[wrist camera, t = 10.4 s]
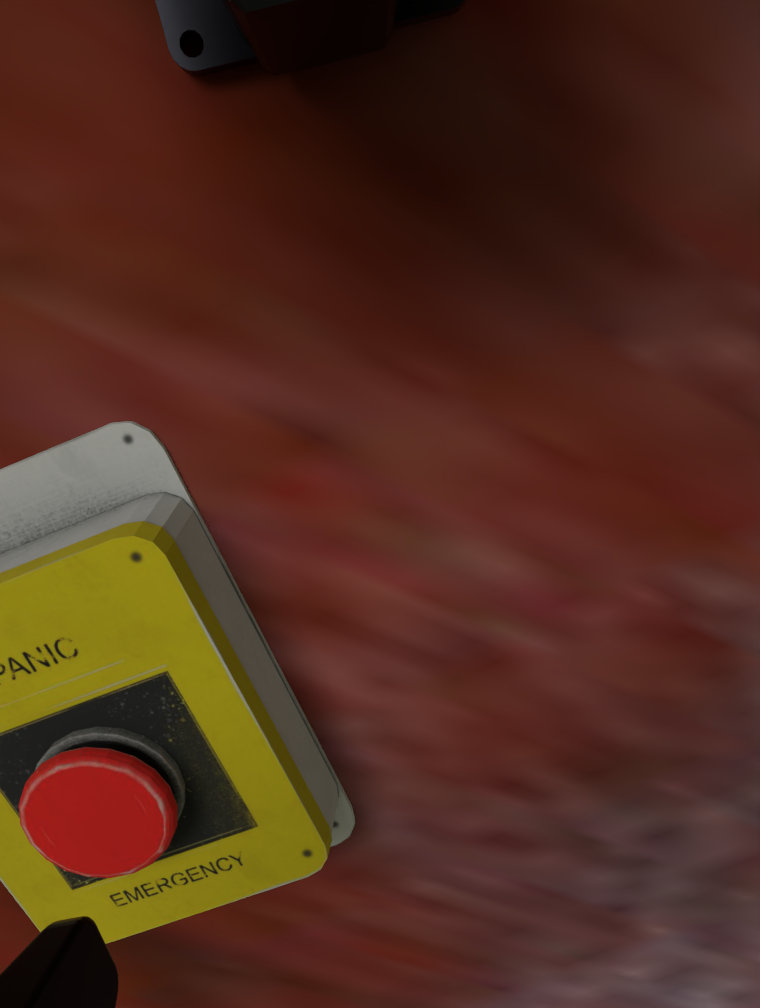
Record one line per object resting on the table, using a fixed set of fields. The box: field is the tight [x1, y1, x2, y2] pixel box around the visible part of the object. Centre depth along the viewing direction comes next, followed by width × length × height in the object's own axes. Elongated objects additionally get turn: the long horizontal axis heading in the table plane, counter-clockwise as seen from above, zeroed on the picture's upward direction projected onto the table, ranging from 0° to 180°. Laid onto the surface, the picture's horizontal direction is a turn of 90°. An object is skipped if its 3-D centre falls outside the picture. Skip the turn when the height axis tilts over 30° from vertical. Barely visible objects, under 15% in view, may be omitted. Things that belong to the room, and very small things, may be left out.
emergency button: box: [0, 421, 355, 944], centre depth 19 cm, size 9×4×15 cm
